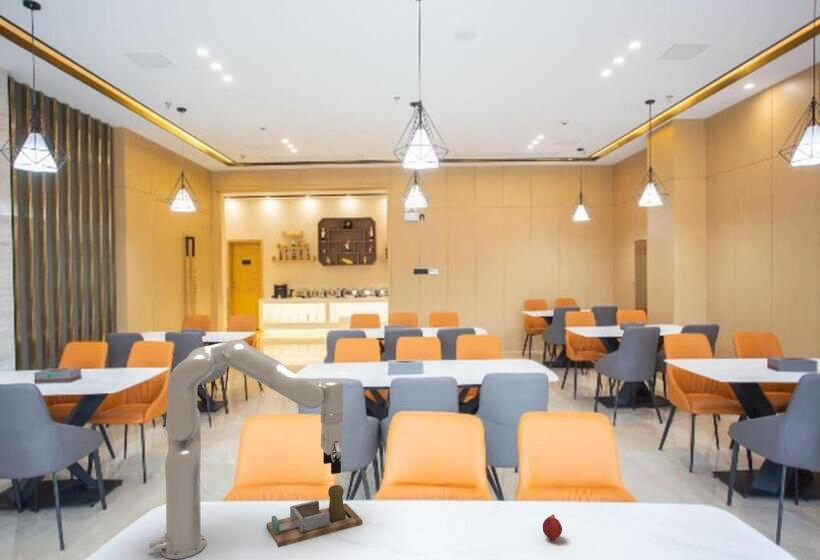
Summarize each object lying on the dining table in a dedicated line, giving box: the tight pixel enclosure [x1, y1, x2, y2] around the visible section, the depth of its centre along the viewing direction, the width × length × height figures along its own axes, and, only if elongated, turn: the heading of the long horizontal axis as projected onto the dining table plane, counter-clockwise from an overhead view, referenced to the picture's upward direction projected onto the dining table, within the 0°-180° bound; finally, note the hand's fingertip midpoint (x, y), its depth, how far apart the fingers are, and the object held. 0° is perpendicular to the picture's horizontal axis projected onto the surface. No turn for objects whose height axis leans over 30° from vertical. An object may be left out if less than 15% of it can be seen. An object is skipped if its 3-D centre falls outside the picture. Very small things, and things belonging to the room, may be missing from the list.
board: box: [266, 503, 363, 548], centre depth 167 cm, size 28×14×2 cm, turn 120°
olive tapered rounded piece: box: [327, 484, 347, 523], centre depth 171 cm, size 6×6×11 cm
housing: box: [271, 499, 329, 534], centre depth 164 cm, size 17×11×4 cm, turn 120°
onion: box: [542, 513, 563, 541], centre depth 158 cm, size 6×6×8 cm
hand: (331, 468), depth 170 cm, fingers open, 9 cm apart
